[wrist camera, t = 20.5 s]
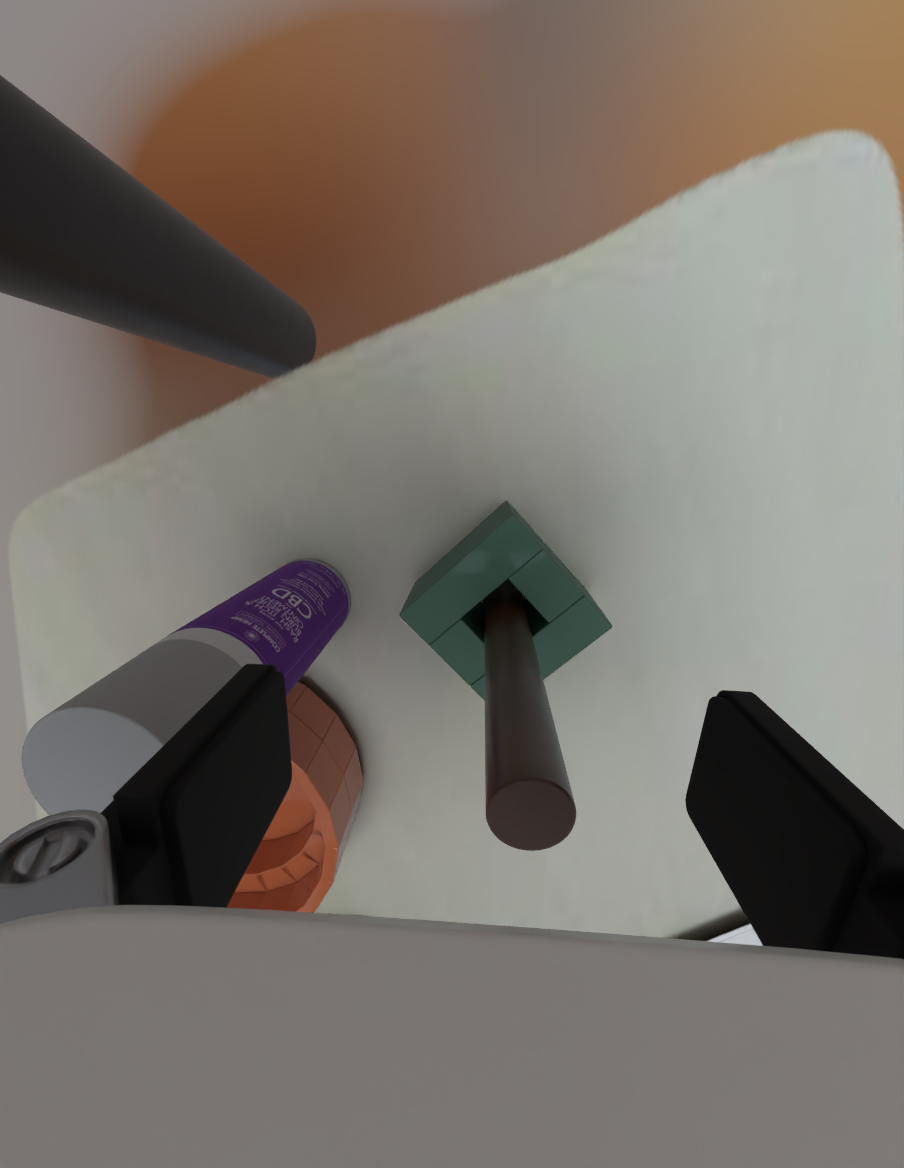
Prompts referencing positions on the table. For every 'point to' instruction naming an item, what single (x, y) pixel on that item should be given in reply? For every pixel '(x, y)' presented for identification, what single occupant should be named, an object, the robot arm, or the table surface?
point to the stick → (520, 734)
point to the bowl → (306, 813)
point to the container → (179, 684)
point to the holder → (478, 567)
